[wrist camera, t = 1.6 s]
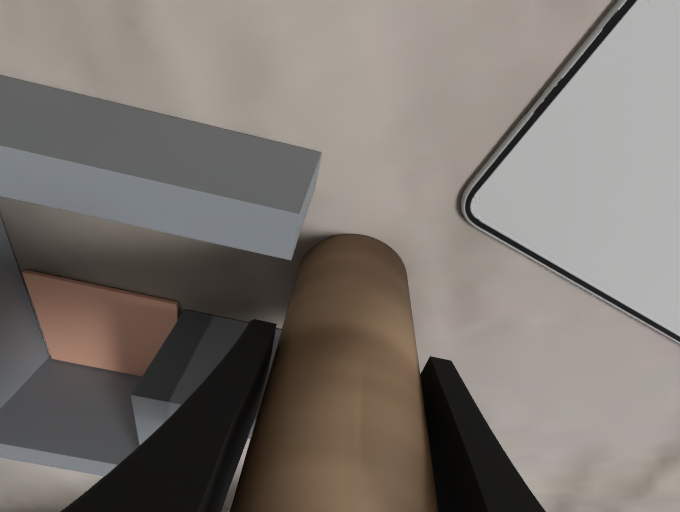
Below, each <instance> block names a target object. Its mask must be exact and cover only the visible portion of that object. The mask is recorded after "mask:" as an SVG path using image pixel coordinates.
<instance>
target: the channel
mask: <svg viewBox="0 0 680 512" xmlns="http://www.w3.org/2000/svg"><path fill="white" fill-rule="evenodd" d="M320 158H321V152H317V151H313V150H309V149H305V148H301V147H296V146H292V145H288V144H284V143H280V142H276V141H272V140H267V139H263V138H259V137H255V136H251V135H247V134H242V133H238V132H234V131H230V130H226V129H222V128H218V127H213V126H209V125H205V124H201V123H197V122H193V121H188V120H184V119H180V118H176V117H172V116H168V115H164V114H159V113H155V112H151V111H147V110H143V109H139V108H134V107H130V106H126V105H122V104H118V103H114V102H110V101H105V100H101V99H97V98H93V97H89V96H85V95H80V94H76V93H72V92H68V91H64V90H60V89H56V88H51V87H47V86H43V85H39V84H35V83H31V82H26V81H22V80H18V79H14V78H10V77H6V76H2V75H0V196H3V197H7V198H12V199H16V200H21V201H25V202H30V203H34V204H39V205H43V206H48V207H52V208H57V209H61V210H66V211H70V212H75V213H79V214H84V215H88V216H93V217H97V218H102V219H106V220H111V221H115V222H120V223H124V224H129V225H133V226H138V227H142V228H147V229H152V230H156V231H161V232H165V233H170V234H174V235H179V236H183V237H188V238H192V239H197V240H201V241H206V242H210V243H215V244H219V245H224V246H228V247H233V248H237V249H242V250H246V251H251V252H255V253H260V254H264V255H269V256H273V257H278V258H282V259H287V260H291V259H292V256H293V253H294V250H295V247H296V244H297V241H298V238H299V235H300V232H301V229H302V226H303V223H304V220H305V217H306V214H307V210H308V207H309V204H310V201H311V198H312V195H313V192H314V189H315V184H316V179H317V174H318V168H319V163H320ZM22 274H23V277H24V280H25V283H26V285H27V288H28V291H29V294H30V297H31V300H32V303H33V306H34V309H35V311H36V314H37V317H38V320H39V323H40V326H41V329H42V332H43V334H44V337H45V340H46V343H47V346H48V349H49V352H50V355H51V357H50V356H49V354H48V351H47V348H46V345H45V342H44V339H43V337H42V334H41V331H40V328H39V325H38V322H37V319H36V317H35V314H34V311H33V308H32V305H31V302H30V299H29V297H28V294H27V291H26V288H25V285H24V282H23V279H22V277H21V274H20V271H19V268H18V265H17V262H16V260H15V257H14V254H13V251H12V248H11V245H10V242H9V240H8V237H7V234H6V231H5V228H4V225H3V222H2V220H1V217H0V457H1V458H6V459H12V460H18V461H23V462H29V463H34V464H40V465H45V466H51V467H56V468H62V469H68V470H73V471H79V472H84V473H90V474H95V475H101V476H106V475H107V474H108V473H109V472H110V471H111V470H112V469H114V468H115V467H116V466H117V465H118V464H119V463H121V462H122V461H123V460H124V459H125V458H126V457H128V456H129V455H130V454H131V453H132V452H133V451H134V450H135V449H137V448H138V447H139V446H140V445H141V444H142V443H143V442H144V441H145V440H146V439H147V438H149V437H150V436H151V435H152V434H153V433H154V432H155V431H156V430H157V429H158V428H159V427H160V426H161V425H162V424H163V423H164V422H165V421H166V420H167V419H168V418H169V417H170V416H171V415H172V414H173V413H174V412H175V411H176V410H177V409H178V408H179V407H180V406H181V405H182V404H183V403H184V402H185V401H186V400H187V399H188V398H189V397H190V396H191V395H192V394H193V392H194V391H195V390H196V389H197V388H198V387H199V386H200V385H201V384H202V383H203V382H204V381H205V379H206V378H207V377H208V376H209V375H210V374H211V372H212V371H213V370H214V369H215V368H216V367H217V365H218V364H219V363H220V362H221V361H222V359H223V358H224V357H225V356H226V354H227V353H228V352H229V351H230V349H231V348H232V347H233V345H234V344H235V343H236V341H237V340H238V339H239V337H240V336H241V334H242V333H243V332H244V330H245V329H246V327H247V325H248V324H249V323H246V322H241V321H237V320H232V319H227V318H222V317H218V316H213V315H208V314H203V313H199V312H194V311H189V310H184V311H183V313H182V315H181V316H180V318H179V309H178V302H176V301H171V300H166V299H162V298H157V297H152V296H147V295H143V294H138V293H133V292H128V291H124V290H119V289H114V288H109V287H105V286H100V285H95V284H90V283H86V282H81V281H76V280H71V279H67V278H62V277H57V276H52V275H48V274H43V273H38V272H33V271H29V270H24V271H23V272H22ZM281 331H282V330H280V329H276V330H275V336H274V342H273V348H272V354H271V360H270V366H269V372H268V376H269V373H270V369H271V366H272V362H273V359H274V355H275V352H276V348H277V345H278V341H279V338H280V334H281ZM268 376H267V379H266V383H267V380H268ZM266 383H265V387H266ZM265 387H264V390H265ZM263 394H264V391H263ZM263 394H262V397H263ZM261 401H262V398H261ZM260 405H261V402H260ZM259 408H260V406H259ZM258 412H259V409H258ZM258 412H257V414H256V417H255V420H254V422H253V425H252V428H251V431H250V433H249V436H248V438H251V436H252V433H253V429H254V426H255V422H256V419H257V415H258Z"/></svg>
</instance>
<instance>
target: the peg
mask: <svg viewBox="0 0 680 512" xmlns="http://www.w3.org/2000/svg"><path fill="white" fill-rule="evenodd" d="M230 512H438V506H437V498H436V491H435V483H434V476H433V468H432V460H431V453H430V445H429V438H428V430H427V423H426V415H425V408H424V400H423V393H422V385H421V378H420V370H419V363H418V355H417V348H416V340H415V333H414V325H413V317H412V310H411V302H410V295H409V287H408V280H407V273H406V269H405V266H404V264H403V262H402V260H401V258H400V257H399V256H398V254H397V253H396V252H395V251H394V250H393V249H392V248H391V247H389V246H388V245H387V244H385V243H383V242H381V241H379V240H377V239H375V238H372V237H368V236H364V235H358V234H343V235H337V236H333V237H330V238H327V239H325V240H323V241H321V242H319V243H318V244H316V245H315V246H313V247H312V248H311V249H310V250H309V251H308V252H307V253H306V255H305V256H304V258H303V260H302V262H301V264H300V268H299V271H298V275H297V278H296V282H295V285H294V289H293V292H292V296H291V299H290V303H289V306H288V310H287V313H286V317H285V320H284V324H283V327H282V331H281V334H280V338H279V341H278V345H277V348H276V352H275V355H274V359H273V362H272V366H271V369H270V373H269V376H268V380H267V383H266V387H265V390H264V394H263V397H262V401H261V405H260V408H259V412H258V415H257V419H256V422H255V426H254V429H253V433H252V436H251V440H250V443H249V447H248V450H247V454H246V457H245V461H244V464H243V468H242V471H241V475H240V478H239V482H238V485H237V489H236V492H235V496H234V499H233V503H232V506H231V510H230Z"/></svg>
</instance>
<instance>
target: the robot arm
mask: <svg viewBox="0 0 680 512" xmlns="http://www.w3.org/2000/svg"><path fill="white" fill-rule="evenodd" d="M275 330H276V324H274V323H269V322H265V321H260V320H255V319H254V320H252V321H250V322H249V324H248V325H247V327H246V329H245V330H244V332H243V333H242V334H241V336H240V337H239V339H238V340H237V341H236V343H235V344H234V345H233V347H232V348H231V349H230V351H229V352H228V353H227V354H226V356H225V357H224V358H223V359H222V361H221V362H220V363H219V364H218V365H217V367H216V368H215V369H214V370H213V371H212V372H211V374H210V375H209V376H208V377H207V378H206V379H205V381H204V382H203V383H202V384H201V385H200V386H199V387H198V388H197V389H196V390H195V391H194V392H193V394H192V395H191V396H190V397H189V398H188V399H187V400H186V401H185V402H184V403H183V404H182V405H181V406H180V407H179V408H178V409H177V410H176V411H175V412H174V413H173V414H172V415H171V416H170V417H169V418H168V419H167V420H166V421H165V422H164V423H163V424H162V425H161V426H160V427H159V428H158V429H157V430H156V431H155V432H154V433H153V434H152V435H151V436H150V437H149V438H147V439H146V440H145V441H144V442H143V443H142V444H141V445H140V446H139V447H138V448H137V449H135V450H134V451H133V452H132V453H131V454H130V455H129V456H128V457H126V458H125V459H124V460H123V461H122V462H121V463H119V464H118V465H117V466H116V467H115V468H114V469H112V470H111V471H110V472H109V473H108V474H107V475H106V476H104V477H103V478H102V479H101V480H100V481H98V482H97V483H96V484H95V485H94V486H92V487H91V488H90V489H89V490H88V491H86V492H85V493H84V494H83V495H81V496H80V497H79V498H78V499H76V500H75V501H74V502H73V503H71V504H70V505H69V506H67V507H66V508H65V509H64V510H62V511H61V512H221V510H222V507H223V504H224V501H225V498H226V495H227V492H228V490H229V487H230V484H231V482H232V479H233V476H234V474H235V471H236V468H237V466H238V463H239V460H240V457H241V455H242V452H243V449H244V447H245V444H246V441H247V439H248V436H249V433H250V431H251V428H252V425H253V422H254V420H255V417H256V414H257V412H258V409H259V406H260V402H261V398H262V394H263V391H264V387H265V383H266V379H267V376H268V372H269V366H270V360H271V354H272V348H273V342H274V336H275ZM420 378H421V385H422V393H423V400H424V408H425V415H426V423H427V430H428V438H429V445H430V453H431V460H432V468H433V476H434V483H435V491H436V498H437V506H438V512H546V511H545V510H544V509H543V507H542V506H541V505H540V503H539V502H538V501H537V499H536V498H535V496H534V495H533V494H532V492H531V491H530V489H529V488H528V486H527V485H526V483H525V482H524V480H523V479H522V477H521V476H520V474H519V473H518V472H517V470H516V469H515V467H514V466H513V464H512V463H511V461H510V459H509V458H508V456H507V455H506V453H505V452H504V450H503V448H502V447H501V445H500V444H499V442H498V440H497V439H496V437H495V435H494V434H493V432H492V430H491V429H490V427H489V426H488V424H487V422H486V421H485V419H484V417H483V415H482V414H481V412H480V410H479V409H478V407H477V405H476V403H475V402H474V400H473V398H472V396H471V395H470V393H469V391H468V389H467V388H466V386H465V384H464V382H463V380H462V379H461V377H460V375H459V373H458V372H457V370H456V368H455V366H454V365H453V363H452V361H450V360H445V359H440V358H436V357H431V356H430V358H429V359H428V361H427V363H426V365H425V367H424V369H423V371H422V372H421V374H420Z"/></svg>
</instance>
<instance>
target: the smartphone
mask: <svg viewBox="0 0 680 512" xmlns="http://www.w3.org/2000/svg"><path fill="white" fill-rule="evenodd" d="M461 210H462V213H463V215H464V217H465V218H466V220H467V221H468V222H469V223H470V224H471V225H473V226H474V227H476V228H477V229H479V230H481V231H483V232H484V233H486V234H488V235H490V236H491V237H493V238H495V239H497V240H498V241H500V242H502V243H504V244H505V245H507V246H509V247H511V248H512V249H514V250H516V251H518V252H519V253H521V254H523V255H525V256H526V257H528V258H530V259H532V260H533V261H535V262H537V263H539V264H540V265H542V266H544V267H546V268H547V269H549V270H551V271H553V272H554V273H556V274H558V275H560V276H561V277H563V278H565V279H566V280H568V281H570V282H572V283H573V284H575V285H577V286H579V287H580V288H582V289H584V290H586V291H587V292H589V293H591V294H593V295H594V296H596V297H598V298H600V299H601V300H603V301H605V302H607V303H609V304H610V305H612V306H614V307H616V308H617V309H619V310H621V311H623V312H624V313H626V314H628V315H630V316H631V317H633V318H635V319H637V320H638V321H640V322H642V323H644V324H645V325H647V326H649V327H651V328H652V329H654V330H656V331H658V332H659V333H661V334H663V335H665V336H666V337H668V338H670V339H672V340H673V341H675V342H677V343H679V344H680V0H618V1H617V2H616V3H615V5H614V6H613V7H612V8H611V10H610V11H609V12H608V13H607V14H606V16H605V17H604V18H603V19H602V21H601V22H600V23H599V24H598V25H597V27H596V28H595V29H594V30H593V32H592V33H591V34H590V35H589V37H588V38H587V39H586V40H585V41H584V43H583V44H582V45H581V46H580V48H579V49H578V50H577V51H576V53H575V54H574V55H573V56H572V57H571V59H570V60H569V61H568V62H567V64H566V65H565V66H564V67H563V69H562V70H561V71H560V72H559V73H558V75H557V76H556V77H555V78H554V80H553V81H552V82H551V83H550V84H549V86H548V87H547V88H546V90H545V91H544V93H543V94H542V95H541V97H540V98H539V99H538V100H537V101H536V103H535V104H534V105H533V106H532V108H531V109H530V110H529V111H528V113H527V114H526V115H524V117H523V118H522V119H521V120H520V121H519V123H518V124H517V125H516V126H515V128H514V129H513V130H512V131H511V132H510V134H509V135H508V136H507V137H506V139H505V140H504V141H503V142H502V144H501V145H500V146H499V147H498V149H497V150H496V151H495V152H494V153H493V155H492V156H491V157H490V158H489V160H488V161H487V162H486V163H485V165H484V166H483V167H482V168H481V169H480V171H479V172H478V173H477V174H476V176H475V177H474V178H473V179H472V181H471V182H470V183H469V185H468V186H467V187H466V189H465V191H464V193H463V196H462V199H461Z"/></svg>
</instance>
